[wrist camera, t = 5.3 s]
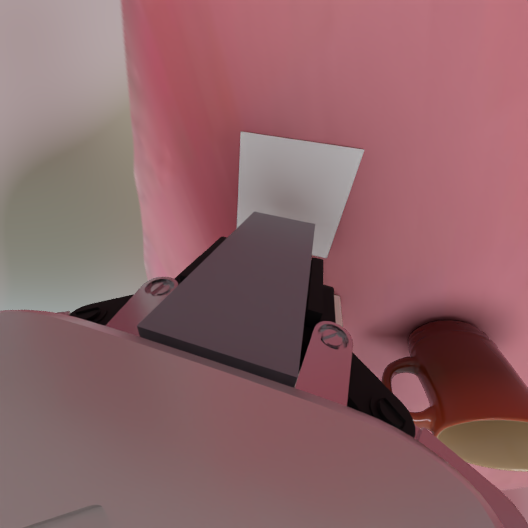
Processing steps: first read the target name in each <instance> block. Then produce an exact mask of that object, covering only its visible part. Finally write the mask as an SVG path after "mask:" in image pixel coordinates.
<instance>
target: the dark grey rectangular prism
mask: <svg viewBox="0 0 528 528" xmlns="http://www.w3.org/2000/svg"><path fill="white" fill-rule="evenodd" d="M314 231H315V224H313V223H308V222H303V221H298V220H293V219H288V218H284V217H279V216H274V215H269V214H264V213H259V212H255V211H254V212H253V213H252V214H251V215H250V216H249V217H248V218H247V219H246V220H245V221H244V222H243V223H242V224H241V225H240V226H239V227H238V228H237V229H236V230H235V231H234V232H233V233H232V234H231V235H230V236H229V237H227V238H226V239H225V240H224V241H223V242H222V243H221V244H220V245H219V246H218V247H217V248H216V249H215V250H214V251H213V252H212V253H211V254H210V255H209V256H208V257H207V258H206V259H205V260H204V261H203V262H202V263H201V264H200V265H199V266H198V267H197V268H196V269H195V270H194V271H193V272H191V273H190V274H189V275H188V276H187V277H186V278H185V279H184V280H183V281H182V282H181V283H180V284H179V285H178V286H177V287H176V288H175V289H174V290H173V291H172V292H171V293H170V294H169V295H168V296H167V297H166V298H165V299H164V300H163V301H162V302H161V303H160V304H159V305H158V306H157V307H156V308H154V309H153V310H152V311H151V312H150V313H149V314H148V315H147V316H146V317H145V318H144V319H143V320H142V321H141V322H140V323H139V324H138V325H137V329H138V332H139V335H140V337H142V338H145V339H148V340H151V341H154V342H157V343H160V344H163V345H166V346H169V347H172V348H175V349H178V350H182V351H185V352H188V353H191V354H194V355H197V356H200V357H203V358H206V359H209V360H212V361H215V362H218V363H221V364H224V365H227V366H230V367H233V368H236V369H239V370H242V371H245V372H248V373H251V374H254V375H257V376H260V377H263V378H266V379H269V380H272V381H275V382H278V383H281V384H284V385H287V386H290V387H293V388H294V386H295V384H296V381H297V379H298V373H299V364H300V355H301V346H302V337H303V328H304V319H305V311H306V302H307V293H308V284H309V275H310V266H311V257H312V248H313V239H314Z"/></svg>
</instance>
